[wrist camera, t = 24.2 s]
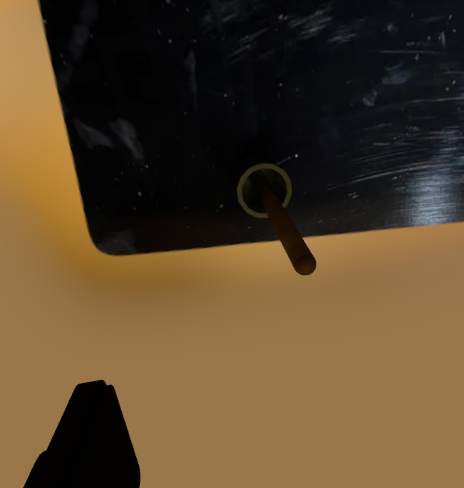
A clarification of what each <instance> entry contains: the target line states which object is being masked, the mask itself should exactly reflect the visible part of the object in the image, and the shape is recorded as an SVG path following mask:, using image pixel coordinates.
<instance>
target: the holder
mask: <svg viewBox="0 0 464 488" xmlns="http://www.w3.org/2000/svg"><path fill="white" fill-rule="evenodd" d="M259 169H261V171H262V172H263V174H264V176H265V177H266V179H267V181H268V182H269V184H270V186H271V187H272V189H273V191H274V192H275V194H276V195H277V197H278V199H279V200H280V202H281V204H282V205H283V207H284V208H285V207H286V206H287V205H288V203H289V200H290V197H291V194H292V187H291V180H290V179H289V177H288V175H287V174H286V172H285V171H284V170H283V169H282V168H281V167H279V166H278V165H277V164H275V163H274V162H273V161H272V160H270V159H269V158H267V157H265V156H263V155H260V154H250V155H247V156H245V157H243V158H241V159H240V160H239V161H238V162H237V163H236V165H235V166H234V169H233V172H232V182H233V187H234V190H235V193H236V196H237V199H238V201H239V203H240V205H241V206H242V208H243V209H244V210H245V211H246V212H247V213H249V214H251V215H252V216H254V217H259V218H268V216H267V214H266V212H265V210H264V208H263V206H262V204H261V202H260V200H259V198H258V196H257V194H256V192H255V190H254V188H253V186H252V184H251V182H250V180H249V178H248V176H249V175H250V174H251V173H252V172H254V171H256V170H259Z"/></svg>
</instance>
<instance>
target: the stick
mask: <svg viewBox="0 0 464 488" xmlns="http://www.w3.org/2000/svg"><path fill="white" fill-rule="evenodd" d="M248 178H249V180H250V182H251V184H252V186H253V188H254V190H255V192H256V194H257V196H258V198H259V200H260V202H261V204H262V206H263V208H264V210H265V212H266V214H267V216H268V218H269V219H270V221H271V223H272V225H273V227H274V229H275V231H276V233H277V235H278V237H279V239H280V241H281V243H282V245H283V247H284V249H285V251H286V253H287V255H288V257H289V259H290V261H291V263H292V265H293V267H294V269H295V270H296V272H298V273H299V274H301V275H309V274H311V273H313V272H314V270H315V268H316V260H315V258H314V257H313V255H312V253H311V252H310V250H309V248H308V247H307V245H306V243H305V242H304V240H303V238H302V237H301V235H300V233H299V232H298V230H297V228H296V227H295V225H294V224H293V222H292V220H291V219H290V217H289V215H288V214H287V212H286V210H285V209H284V207H283V205H282V204H281V202H280V200H279V199H278V197H277V195H276V194H275V192H274V191H273V189H272V187H271V186H270V184H269V182H268V181H267V179H266V177H265V176H264V174H263V172H262V171H261V169H259V170H256V171H254V172H252V173H251V174H250V175H249V176H248Z"/></svg>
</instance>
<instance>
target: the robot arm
mask: <svg viewBox="0 0 464 488" xmlns="http://www.w3.org/2000/svg"><path fill="white" fill-rule="evenodd" d="M139 487H140V468H139V464H138V461H137V458H136V455H135V452H134V448H133V445H132V442H131V439H130V436H129V433H128V430H127V426H126V423H125V420H124V417H123V414H122V411H121V408H120V404H119V401H118V398H117V395H116V392H115V389H114V387H113V385H106V383H105V382H104V380H98V381H93V382H87V383H81V384H78V385H77V386H76V387H75V389H74V391H73V393H72V396H71V398H70V400H69V402H68V405H67V407H66V409H65V411H64V413H63V415H62V418H61V420H60V422H59V424H58V426H57V428H56V431H55V433H54V435H53V437H52V439H51V442H50V444H49V446H48V448H47V450H46V451H44V452H42V453H41V454H40V455H39V457H38V458H37V460H36V462H35V464H34V466H33V468H32V470H31V472H30V474H29V476H28V479H27V481H26V483H25V485H24V487H23V488H139Z"/></svg>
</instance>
